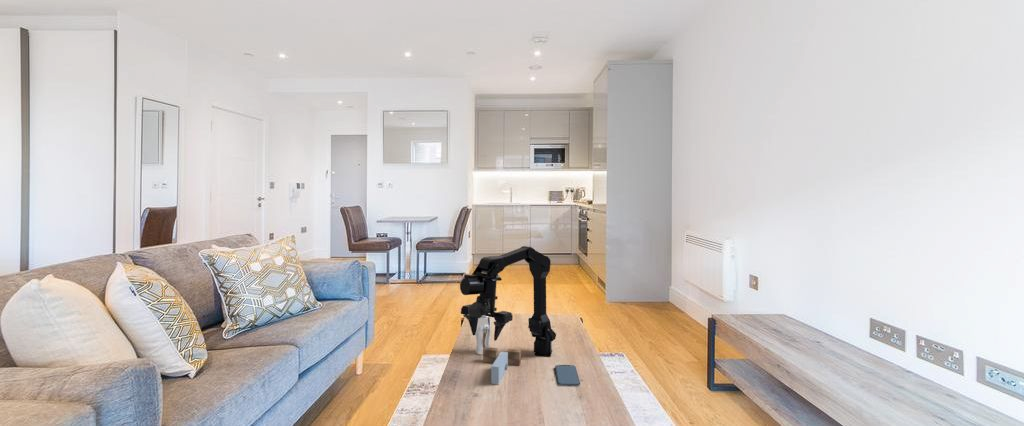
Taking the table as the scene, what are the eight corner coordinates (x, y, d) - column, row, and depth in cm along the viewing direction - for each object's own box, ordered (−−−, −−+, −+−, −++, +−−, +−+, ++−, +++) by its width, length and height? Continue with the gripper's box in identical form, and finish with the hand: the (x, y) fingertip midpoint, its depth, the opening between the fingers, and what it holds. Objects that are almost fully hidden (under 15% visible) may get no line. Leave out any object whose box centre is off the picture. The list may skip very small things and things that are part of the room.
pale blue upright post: (507, 368, 155) (507, 352, 155) (498, 384, 141) (498, 367, 141) (501, 367, 156) (501, 351, 155) (491, 384, 142) (491, 366, 142)
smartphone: (557, 383, 141) (554, 364, 156) (557, 388, 141) (554, 368, 156) (580, 384, 140) (575, 364, 155) (580, 389, 141) (575, 369, 156)
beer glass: (489, 356, 167) (489, 318, 166) (472, 354, 168) (472, 317, 168) (493, 349, 174) (493, 313, 173) (477, 348, 175) (477, 312, 175)
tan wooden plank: (520, 363, 160) (520, 350, 160) (519, 365, 158) (519, 352, 157) (484, 360, 163) (484, 347, 163) (483, 362, 160) (483, 349, 160)
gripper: (452, 291, 148) (449, 336, 147) (497, 300, 138) (494, 348, 138) (471, 288, 157) (468, 331, 157) (514, 296, 148) (511, 341, 147)
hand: (484, 337), depth 149 cm, fingers open, 9 cm apart
